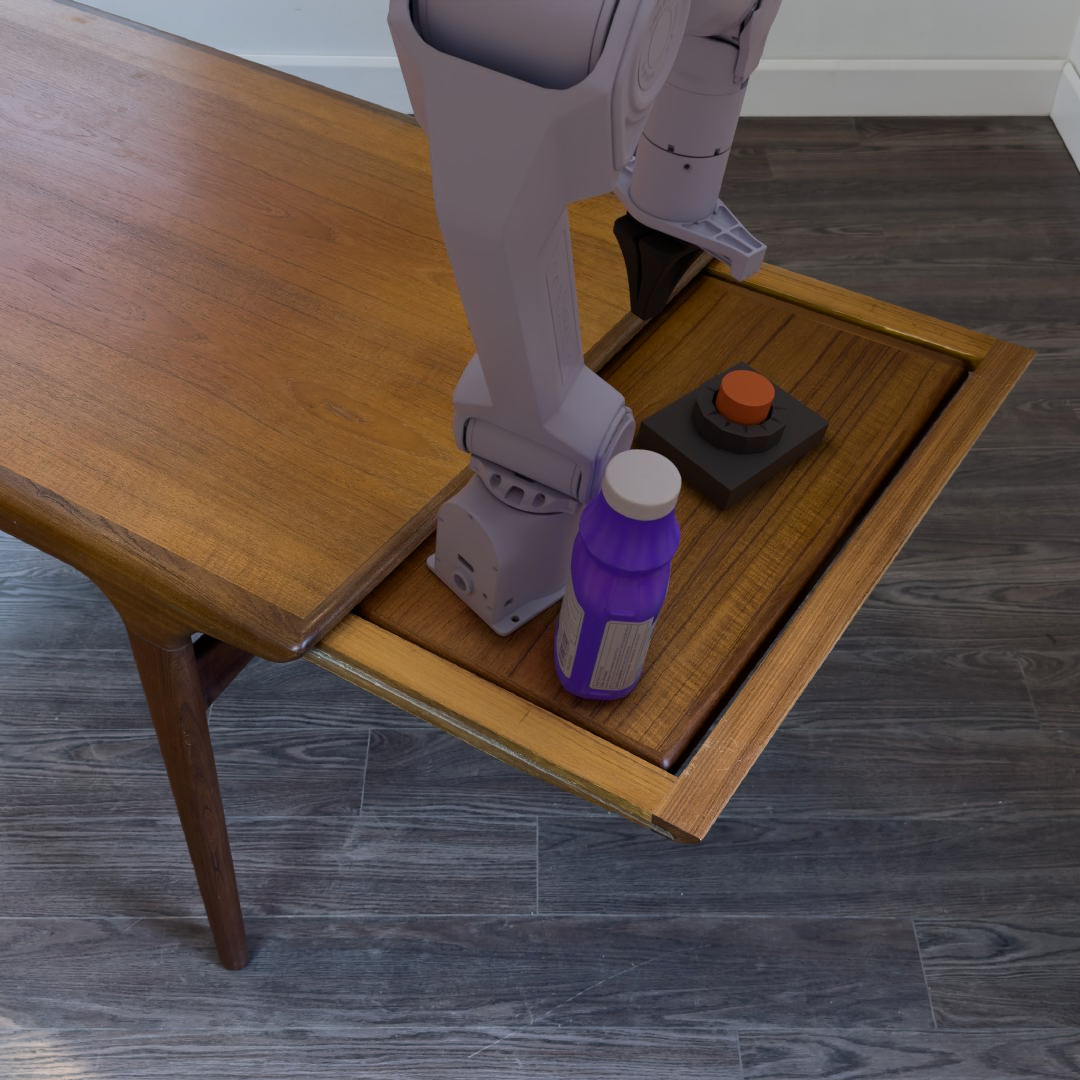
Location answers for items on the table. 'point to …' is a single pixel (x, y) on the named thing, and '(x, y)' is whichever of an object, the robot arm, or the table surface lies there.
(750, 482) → the button base
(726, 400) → the push button
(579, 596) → the bottle
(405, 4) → the robot arm
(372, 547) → the table surface
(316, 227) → the table surface
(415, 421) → the table surface
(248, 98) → the table surface
